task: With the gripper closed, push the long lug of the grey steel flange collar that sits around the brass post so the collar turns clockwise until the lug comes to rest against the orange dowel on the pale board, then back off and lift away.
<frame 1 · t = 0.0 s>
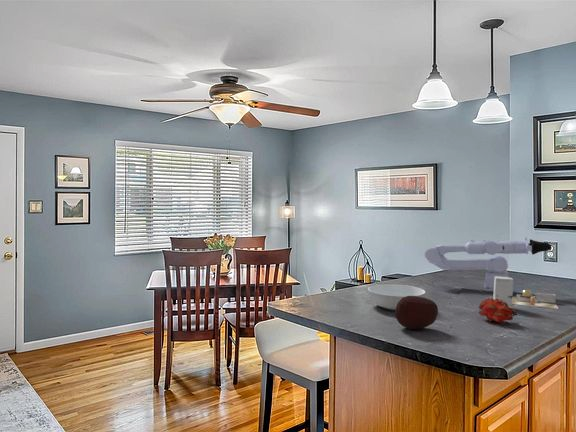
hand: (550, 246, 188), 22 cm above the worktop, tool horizontal, fingers open, 7 cm apart
potato: (415, 329, 138), on the worktop
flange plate: (535, 296, 177), point 3 cm above the worktop, hinge at 0.0°
post: (526, 300, 179), resting on board
dowel: (532, 304, 170), resting on board
serving bowl: (395, 308, 166), on the worktop
skincare box: (502, 310, 165), on the worktop
dragon fruit: (496, 322, 149), on the worktop
board: (531, 303, 176), on the worktop
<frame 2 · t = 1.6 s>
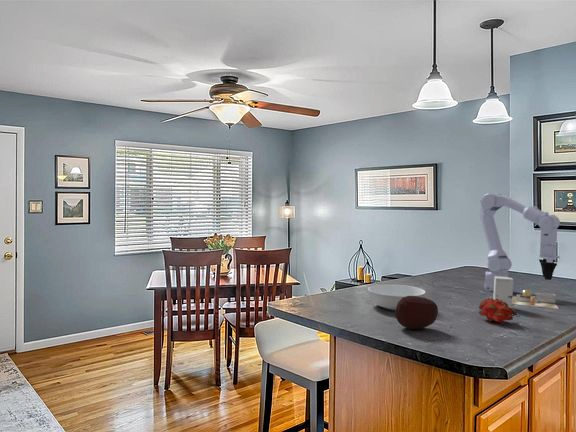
hand: (547, 278, 181), 9 cm above the worktop, tool pointing down, fingers open, 7 cm apart
nothing on the worktop moved.
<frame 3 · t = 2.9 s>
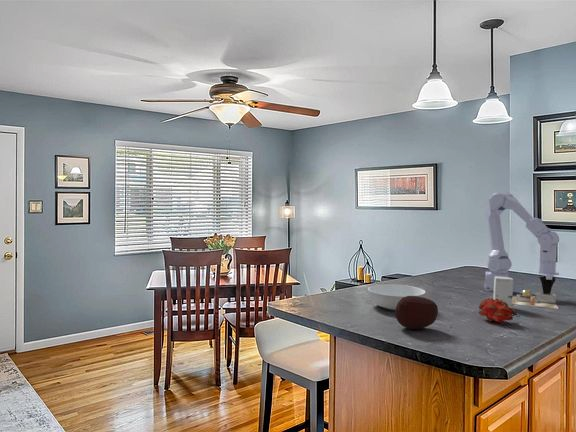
hand: (546, 294, 181), 3 cm above the worktop, tool pointing down, fingers closed
nothing on the worktop moved.
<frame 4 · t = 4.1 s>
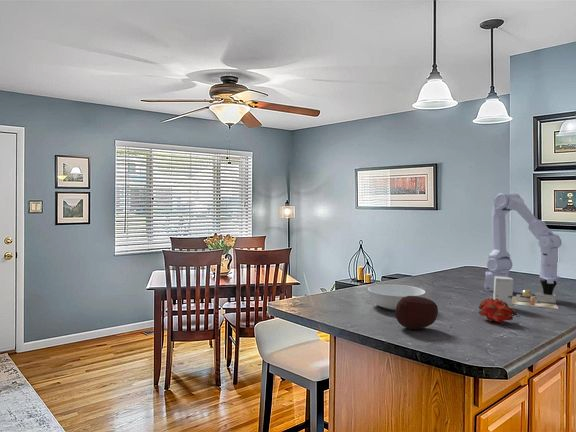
hand: (547, 298, 177), 2 cm above the worktop, tool pointing down, fingers closed, pressing on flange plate
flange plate: (535, 296, 177), point 3 cm above the worktop, hinge at -0.1°, touching gripper
everything else where it was.
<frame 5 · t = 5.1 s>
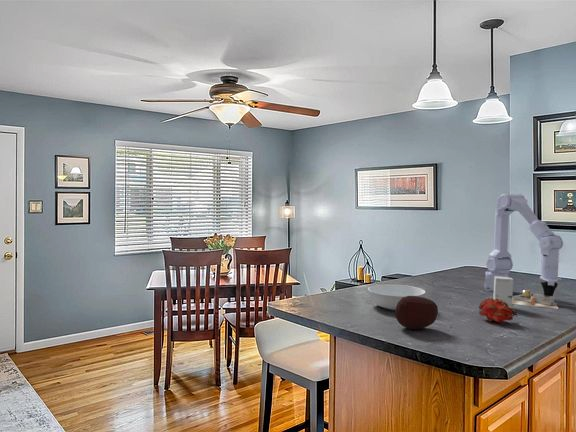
hand: (548, 300, 174), 2 cm above the worktop, tool pointing down, fingers closed
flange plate: (534, 297, 176), point 3 cm above the worktop, hinge at -31.6°, touching gripper
everything else where it was.
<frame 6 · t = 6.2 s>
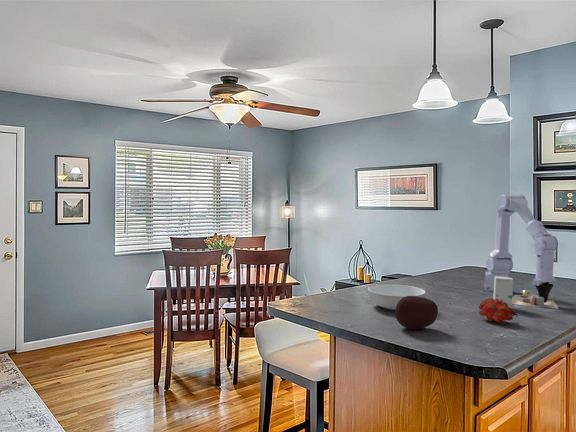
hand: (543, 302, 171), 2 cm above the worktop, tool pointing down, fingers closed, pressing on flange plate
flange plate: (531, 297, 175), point 3 cm above the worktop, hinge at -65.2°, touching dowel, gripper
everything else where it was.
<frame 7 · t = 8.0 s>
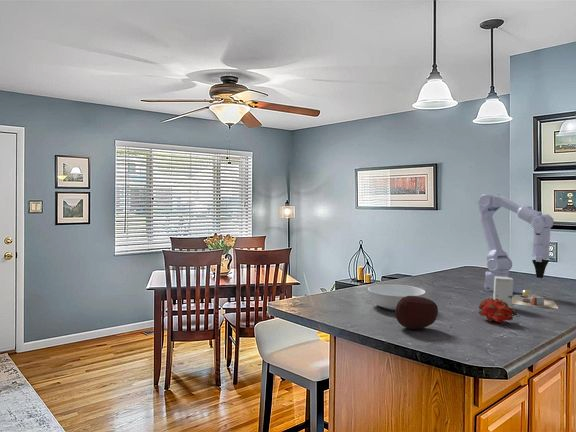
hand: (539, 277, 181), 10 cm above the worktop, tool pointing down, fingers closed
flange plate: (531, 297, 175), point 3 cm above the worktop, hinge at -65.2°, touching dowel
everything else where it was.
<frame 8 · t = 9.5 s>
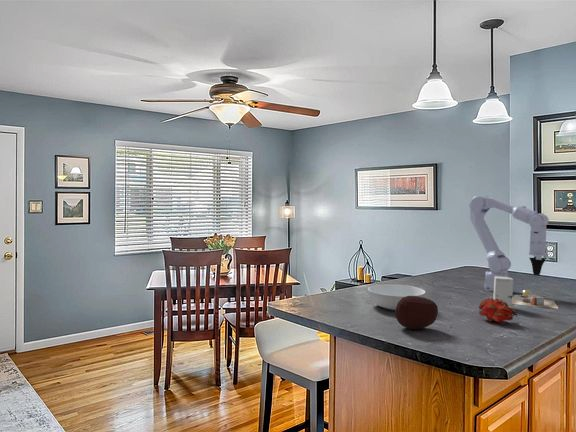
hand: (536, 275, 186), 10 cm above the worktop, tool pointing down, fingers closed
nothing on the worktop moved.
at the end: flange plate at -65° (first picture: +0°); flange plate 0.0 cm from the post (horizontally) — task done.
